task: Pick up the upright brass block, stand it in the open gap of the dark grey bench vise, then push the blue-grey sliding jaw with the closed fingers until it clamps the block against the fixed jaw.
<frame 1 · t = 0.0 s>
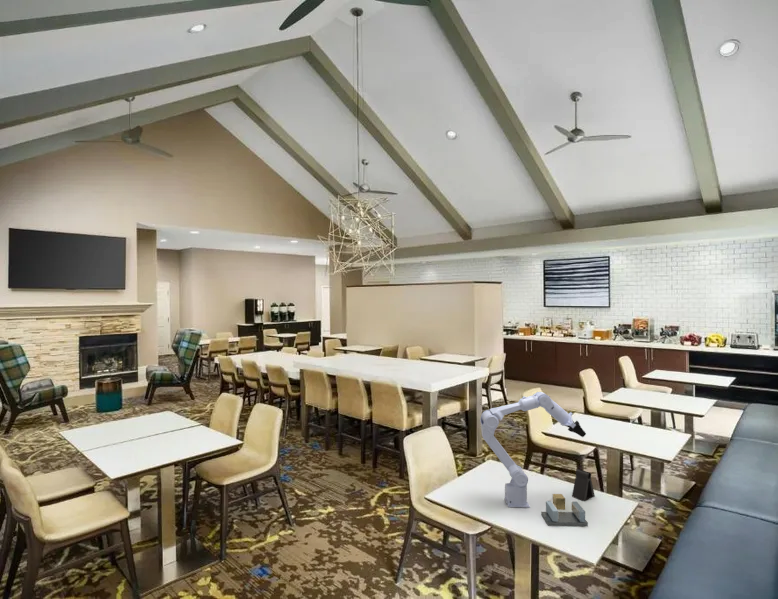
hand: (580, 432, 203), 32 cm above the table, tool tilted 50°, fingers open, 7 cm apart
vise: (563, 520, 189), on the table
brass block: (558, 507, 201), on the table
phone stand: (583, 497, 211), on the table
sliding jaw: (552, 511, 189), point 4 cm above the table, slide at 0.0 cm
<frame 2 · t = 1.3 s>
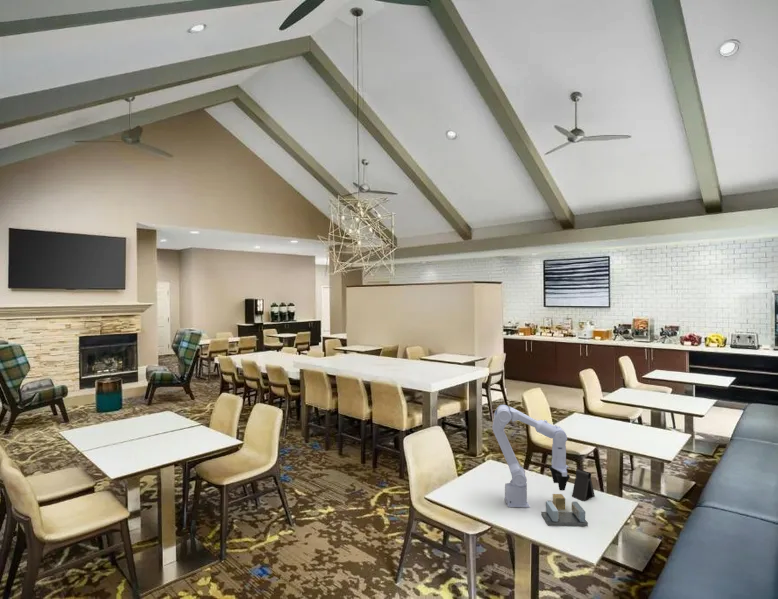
hand: (559, 486, 201), 9 cm above the table, tool pointing down, fingers open, 7 cm apart
nothing on the table moved.
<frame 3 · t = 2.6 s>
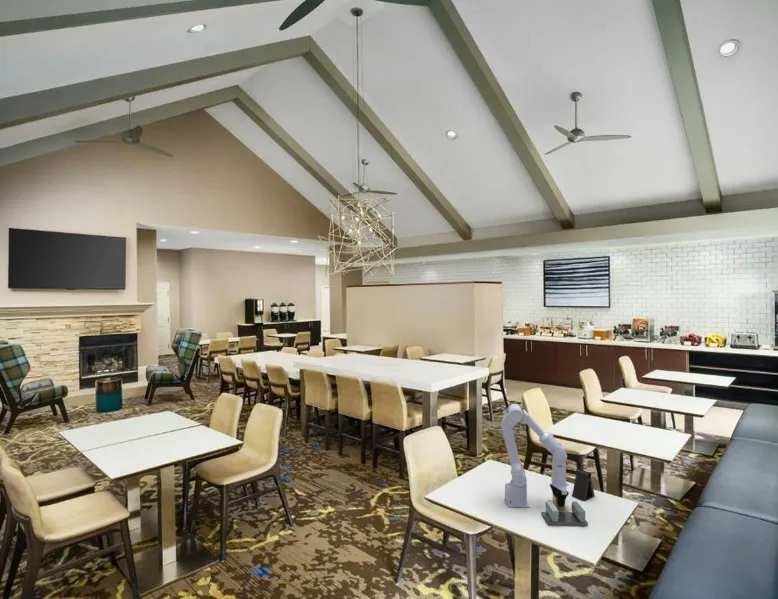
hand: (558, 504, 201), 1 cm above the table, tool pointing down, fingers closed on brass block, 4 cm apart
brass block: (558, 507, 201), on the table, touching gripper
everything else where it was.
when the fingers open (4 cm above the table, at t = 6.3 s): brass block stays where it is, resting on vise.
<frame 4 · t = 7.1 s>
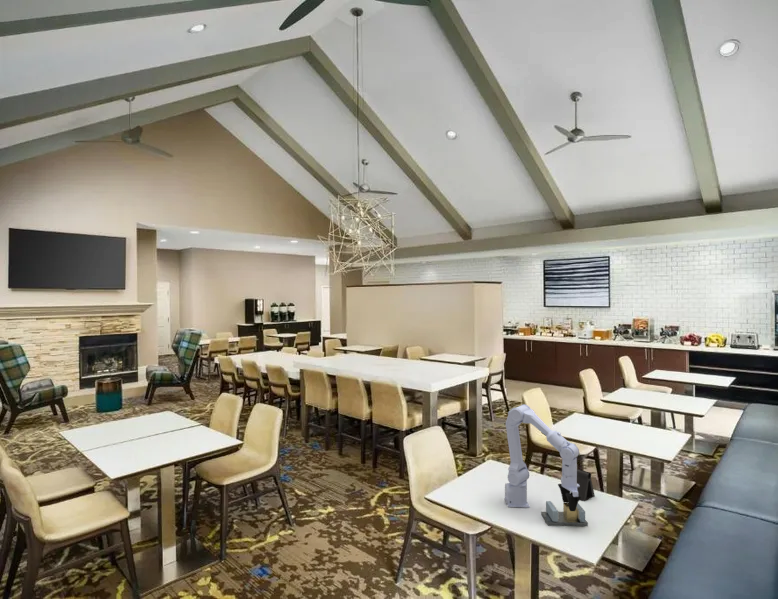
hand: (569, 506, 189), 6 cm above the table, tool pointing down, fingers open, 7 cm apart
brass block: (570, 517, 189), point 1 cm above the table, touching vise
everything else where it was.
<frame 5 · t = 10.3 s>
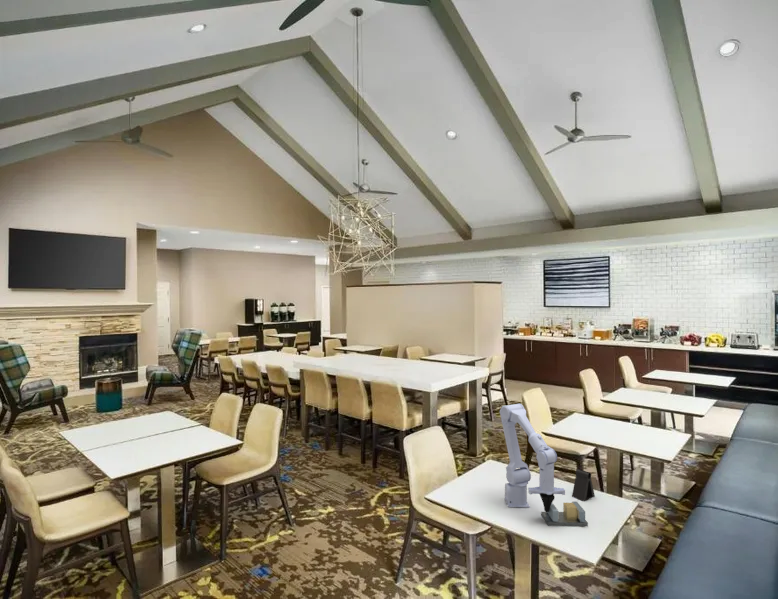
hand: (546, 511, 189), 4 cm above the table, tool pointing down, fingers closed
sliding jaw: (552, 511, 189), point 4 cm above the table, slide at 0.1 cm, touching gripper
everything else where it was.
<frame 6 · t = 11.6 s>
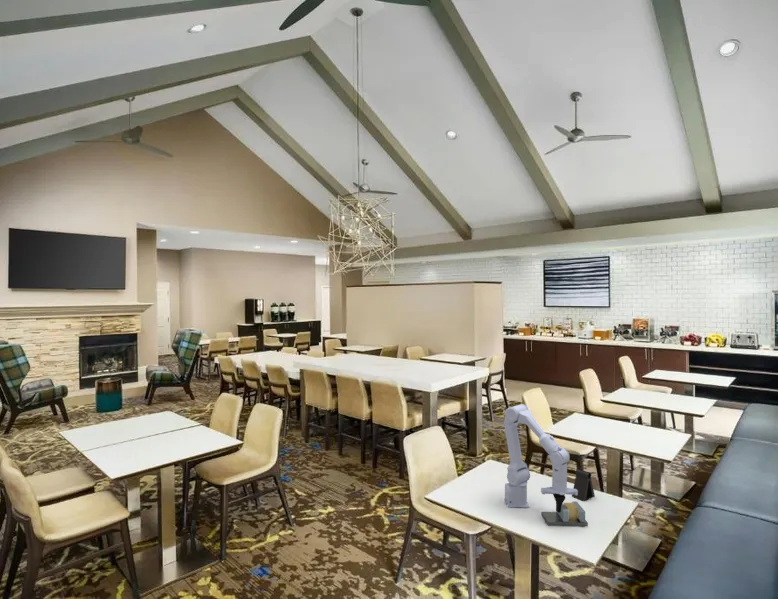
hand: (558, 511, 189), 4 cm above the table, tool pointing down, fingers closed, pressing on sliding jaw
brass block: (570, 517, 189), point 2 cm above the table, touching sliding jaw, vise
sliding jaw: (562, 511, 189), point 4 cm above the table, slide at 4.2 cm, touching brass block, gripper
everything else where it was.
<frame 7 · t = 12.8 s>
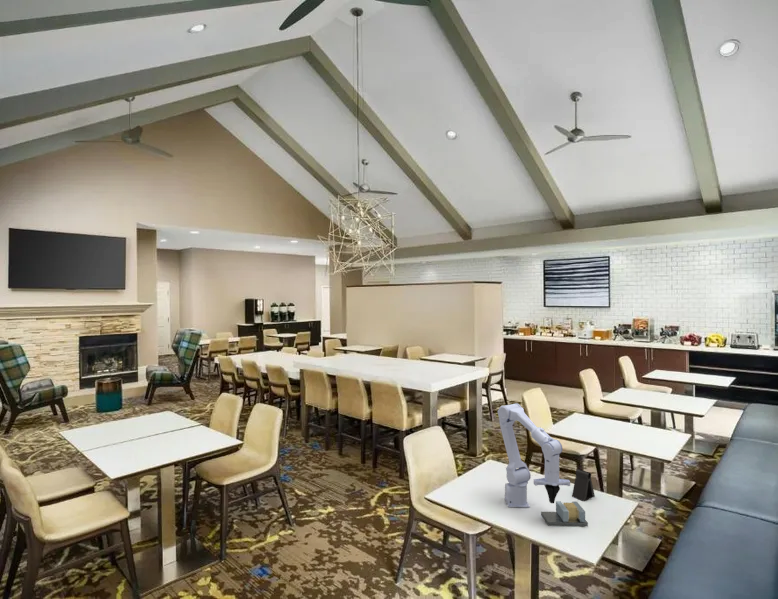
hand: (551, 502, 189), 8 cm above the table, tool pointing down, fingers closed
sliding jaw: (562, 511, 189), point 4 cm above the table, slide at 4.2 cm, touching brass block
everything else where it was.
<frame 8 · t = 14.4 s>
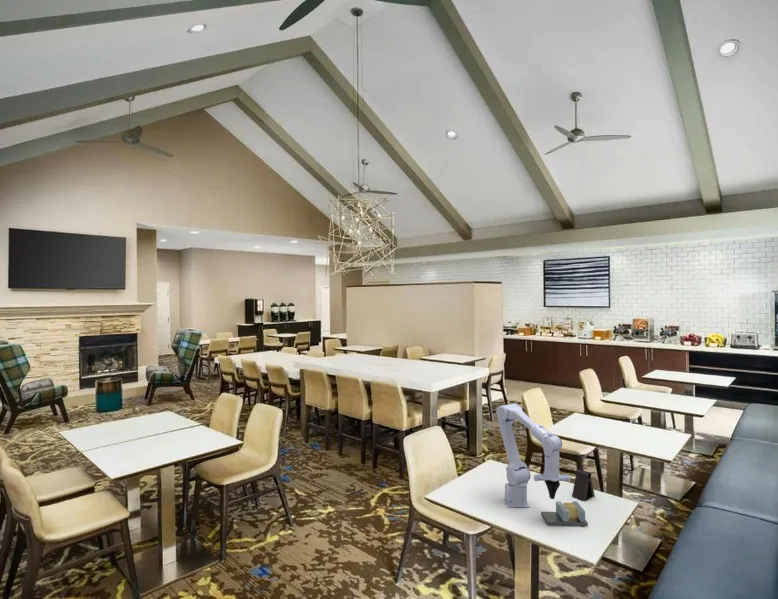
hand: (551, 497, 189), 9 cm above the table, tool pointing down, fingers closed
nothing on the table moved.
at the end: sliding jaw slide at 4.2 cm; brass block 0.4 cm from the target spot, point 1.5 cm above the table; brass block tilted 0° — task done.
